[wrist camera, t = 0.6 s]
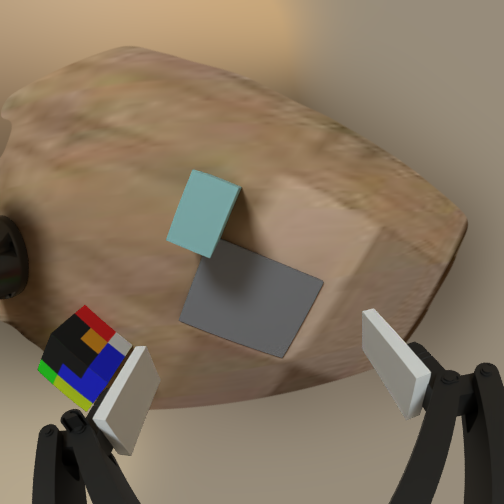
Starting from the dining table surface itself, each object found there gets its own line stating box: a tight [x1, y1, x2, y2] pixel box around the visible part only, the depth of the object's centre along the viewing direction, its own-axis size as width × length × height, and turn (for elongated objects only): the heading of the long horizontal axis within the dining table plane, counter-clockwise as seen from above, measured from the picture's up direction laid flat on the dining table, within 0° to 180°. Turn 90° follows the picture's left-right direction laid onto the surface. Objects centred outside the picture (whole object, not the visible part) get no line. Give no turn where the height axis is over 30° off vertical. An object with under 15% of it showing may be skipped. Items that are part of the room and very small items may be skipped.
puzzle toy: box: [38, 305, 133, 411], centre depth 35 cm, size 10×10×10 cm
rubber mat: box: [179, 238, 324, 358], centre depth 37 cm, size 16×13×1 cm
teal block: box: [166, 170, 242, 258], centre depth 30 cm, size 4×7×10 cm, turn 157°
